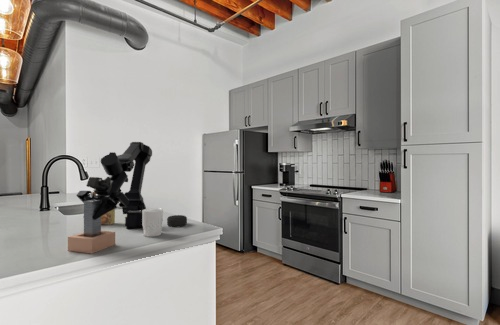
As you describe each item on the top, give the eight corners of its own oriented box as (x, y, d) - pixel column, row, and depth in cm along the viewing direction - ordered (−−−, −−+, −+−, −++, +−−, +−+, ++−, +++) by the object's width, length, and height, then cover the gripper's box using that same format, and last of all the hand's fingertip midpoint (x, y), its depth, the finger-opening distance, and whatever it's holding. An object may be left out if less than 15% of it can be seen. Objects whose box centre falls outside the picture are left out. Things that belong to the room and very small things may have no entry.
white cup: (166, 233, 115) (167, 209, 115) (152, 238, 108) (152, 212, 108) (152, 231, 118) (152, 207, 118) (137, 235, 111) (137, 210, 111)
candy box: (91, 224, 130) (91, 191, 130) (96, 222, 134) (96, 190, 134) (111, 224, 130) (111, 191, 130) (115, 222, 134) (115, 190, 134)
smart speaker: (163, 225, 130) (163, 216, 130) (179, 222, 137) (179, 214, 137) (174, 228, 124) (174, 219, 124) (190, 225, 131) (190, 216, 131)
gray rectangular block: (92, 235, 98) (92, 199, 98) (100, 236, 97) (100, 200, 97) (83, 238, 95) (83, 201, 95) (92, 239, 94) (92, 201, 94)
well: (92, 242, 102) (92, 229, 102) (115, 244, 99) (115, 231, 99) (67, 250, 93) (67, 236, 93) (91, 253, 90) (91, 239, 90)
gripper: (81, 168, 102) (51, 203, 92) (123, 169, 97) (97, 205, 86) (98, 187, 110) (73, 222, 99) (138, 189, 105) (116, 225, 94)
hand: (89, 218), depth 95 cm, fingers closed on gray rectangular block, 4 cm apart
